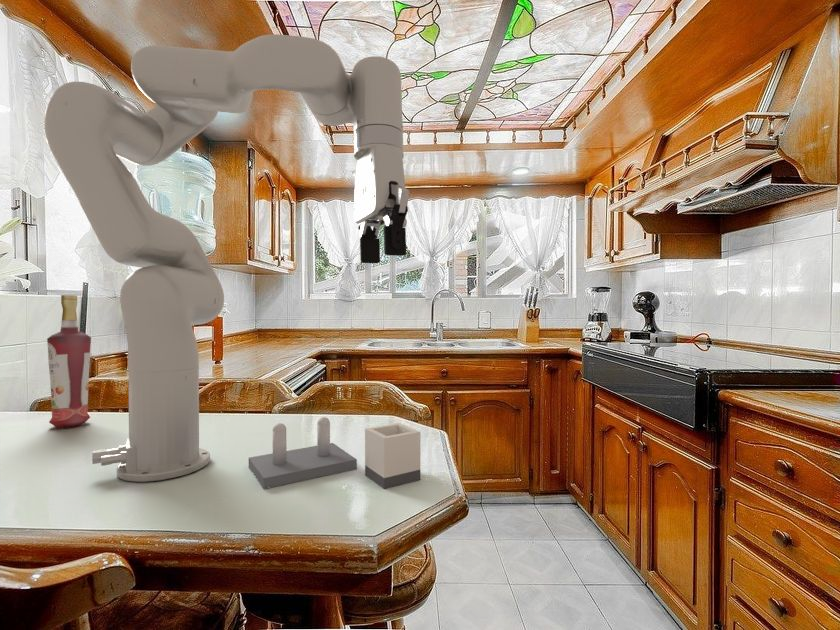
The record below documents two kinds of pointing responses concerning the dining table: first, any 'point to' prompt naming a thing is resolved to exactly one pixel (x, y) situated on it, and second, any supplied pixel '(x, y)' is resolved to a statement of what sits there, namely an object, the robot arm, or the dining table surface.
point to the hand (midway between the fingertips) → (382, 259)
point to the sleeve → (392, 454)
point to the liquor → (69, 369)
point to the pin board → (300, 459)
